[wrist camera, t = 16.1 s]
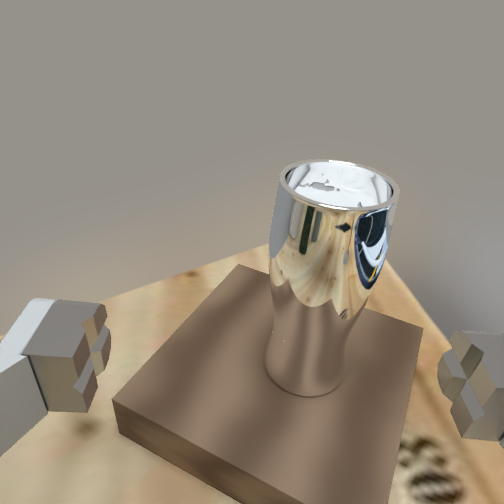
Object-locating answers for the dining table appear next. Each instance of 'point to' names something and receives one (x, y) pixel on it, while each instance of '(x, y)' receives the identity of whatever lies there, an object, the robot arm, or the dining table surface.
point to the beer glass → (323, 266)
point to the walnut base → (272, 405)
